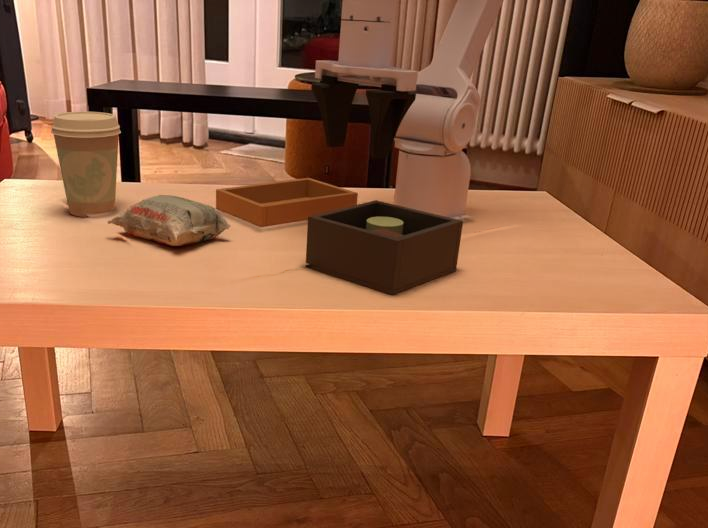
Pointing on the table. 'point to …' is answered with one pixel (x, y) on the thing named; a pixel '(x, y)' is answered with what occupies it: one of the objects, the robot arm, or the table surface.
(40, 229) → the table surface
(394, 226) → the green cylinder
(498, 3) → the robot arm
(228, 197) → the brown wooden tray
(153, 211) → the packaged food
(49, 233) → the table surface
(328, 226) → the black basket
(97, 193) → the coffee cup
